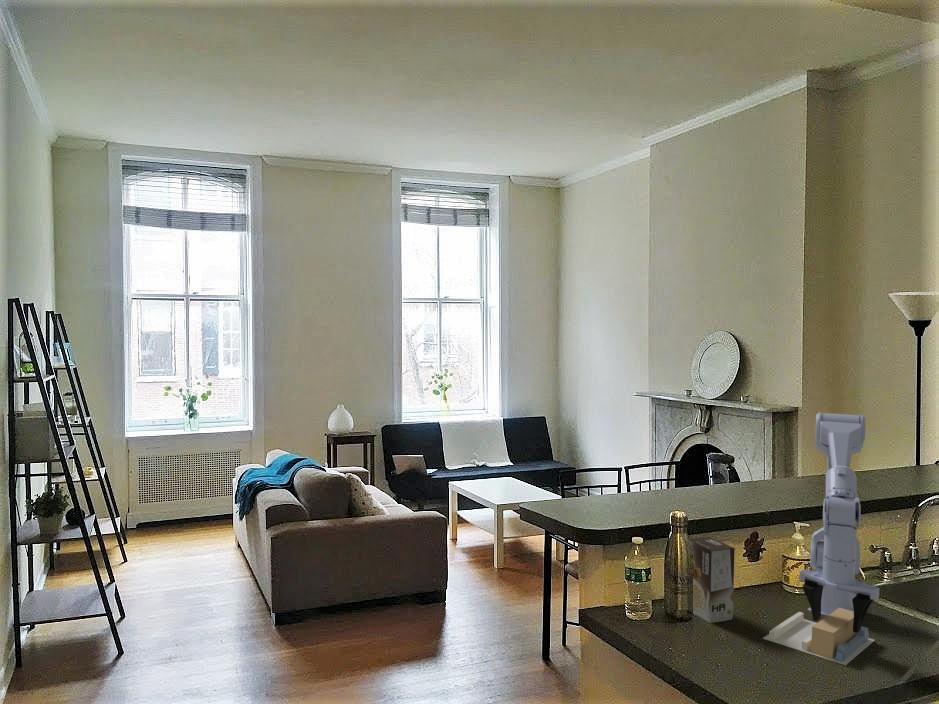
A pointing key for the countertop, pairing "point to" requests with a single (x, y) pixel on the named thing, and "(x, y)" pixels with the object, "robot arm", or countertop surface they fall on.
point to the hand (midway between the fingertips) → (836, 625)
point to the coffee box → (712, 579)
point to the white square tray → (800, 635)
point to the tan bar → (832, 632)
